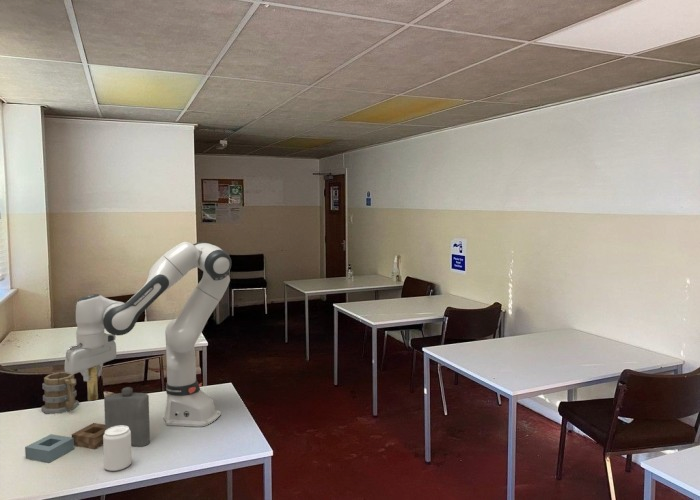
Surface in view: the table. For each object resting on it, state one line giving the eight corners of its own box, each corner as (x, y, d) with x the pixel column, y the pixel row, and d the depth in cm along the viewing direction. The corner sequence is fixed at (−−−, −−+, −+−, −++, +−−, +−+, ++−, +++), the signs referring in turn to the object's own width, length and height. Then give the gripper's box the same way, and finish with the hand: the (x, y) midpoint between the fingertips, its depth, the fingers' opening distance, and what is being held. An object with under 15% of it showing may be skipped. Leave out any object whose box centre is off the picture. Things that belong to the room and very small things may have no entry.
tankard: (38, 408, 206) (36, 373, 205) (70, 400, 215) (69, 366, 214) (56, 421, 193) (55, 384, 192) (90, 411, 203) (88, 376, 202)
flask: (152, 439, 178) (151, 385, 177) (146, 446, 172) (145, 391, 171) (110, 440, 177) (108, 386, 176) (103, 447, 171) (101, 392, 170)
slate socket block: (74, 449, 170) (73, 437, 170) (49, 462, 161) (48, 451, 160) (51, 445, 173) (51, 434, 173) (25, 458, 164) (25, 446, 163)
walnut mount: (116, 436, 180) (115, 426, 180) (94, 449, 170) (94, 438, 170) (94, 433, 183) (93, 422, 182) (71, 445, 173) (71, 434, 173)
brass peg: (99, 398, 176) (98, 365, 176) (92, 401, 173) (91, 368, 172) (92, 397, 177) (91, 364, 176) (85, 400, 174) (84, 367, 173)
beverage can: (99, 467, 158) (97, 431, 157) (122, 457, 165) (121, 422, 164) (113, 475, 153) (112, 437, 153) (136, 464, 160) (135, 428, 159)
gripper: (73, 348, 163) (75, 389, 164) (118, 334, 182) (120, 370, 183) (58, 347, 165) (60, 387, 166) (105, 333, 184) (106, 369, 185)
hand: (92, 378), depth 175 cm, fingers closed on brass peg, 3 cm apart
